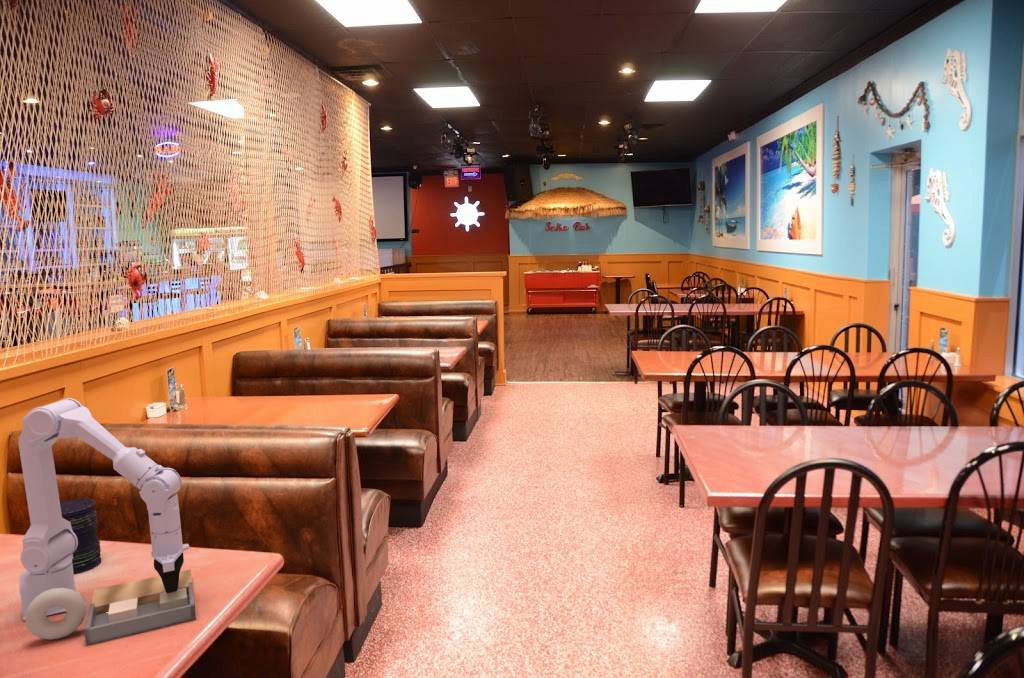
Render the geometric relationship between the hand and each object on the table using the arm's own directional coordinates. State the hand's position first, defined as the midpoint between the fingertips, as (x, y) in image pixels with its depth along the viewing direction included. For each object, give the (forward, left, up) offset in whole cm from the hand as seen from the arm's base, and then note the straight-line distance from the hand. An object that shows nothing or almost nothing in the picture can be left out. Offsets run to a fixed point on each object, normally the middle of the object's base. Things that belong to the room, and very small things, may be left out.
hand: (171, 590), depth 149 cm
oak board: (-6, +7, -3) cm, 9 cm away
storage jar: (-20, +32, -3) cm, 38 cm away
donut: (-20, -4, -3) cm, 21 cm away
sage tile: (0, -1, -2) cm, 3 cm away
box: (-6, -4, -3) cm, 7 cm away
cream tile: (-9, -1, -2) cm, 9 cm away
